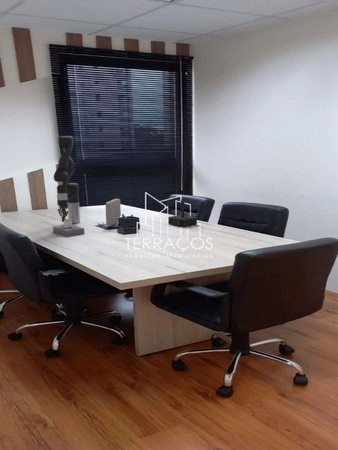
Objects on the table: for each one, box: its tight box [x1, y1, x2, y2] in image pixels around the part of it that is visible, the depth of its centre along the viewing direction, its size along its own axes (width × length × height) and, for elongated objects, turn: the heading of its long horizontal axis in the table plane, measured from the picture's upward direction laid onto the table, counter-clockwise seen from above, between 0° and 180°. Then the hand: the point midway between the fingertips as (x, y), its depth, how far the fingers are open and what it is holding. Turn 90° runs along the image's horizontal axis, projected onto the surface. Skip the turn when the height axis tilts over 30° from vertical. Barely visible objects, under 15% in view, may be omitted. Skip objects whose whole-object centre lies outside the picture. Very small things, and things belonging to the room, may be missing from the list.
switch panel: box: [52, 224, 85, 237], centre depth 316 cm, size 22×14×4 cm, turn 42°
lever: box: [63, 218, 73, 228], centre depth 315 cm, size 3×5×6 cm, turn 132°
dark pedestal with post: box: [167, 199, 198, 228], centre depth 341 cm, size 19×17×20 cm
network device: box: [105, 198, 122, 226], centre depth 343 cm, size 26×9×20 cm, turn 168°
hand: (63, 221), depth 320 cm, fingers closed
